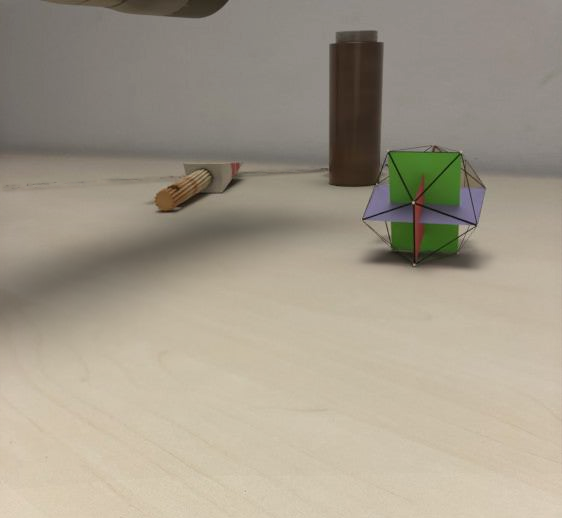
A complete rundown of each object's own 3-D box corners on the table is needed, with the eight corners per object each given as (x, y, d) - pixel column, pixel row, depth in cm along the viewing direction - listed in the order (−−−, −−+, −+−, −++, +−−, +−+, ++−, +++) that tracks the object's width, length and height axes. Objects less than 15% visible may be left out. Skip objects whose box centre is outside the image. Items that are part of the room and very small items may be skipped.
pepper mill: (360, 187, 69) (364, 29, 63) (318, 183, 72) (318, 32, 67) (389, 181, 73) (394, 30, 67) (348, 177, 76) (349, 33, 70)
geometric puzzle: (472, 243, 37) (491, 108, 38) (345, 236, 39) (369, 109, 41) (475, 292, 44) (492, 175, 45) (367, 284, 46) (386, 173, 47)
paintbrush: (248, 148, 76) (182, 185, 58) (249, 174, 77) (185, 218, 59) (214, 147, 76) (139, 184, 59) (216, 173, 78) (143, 216, 60)
